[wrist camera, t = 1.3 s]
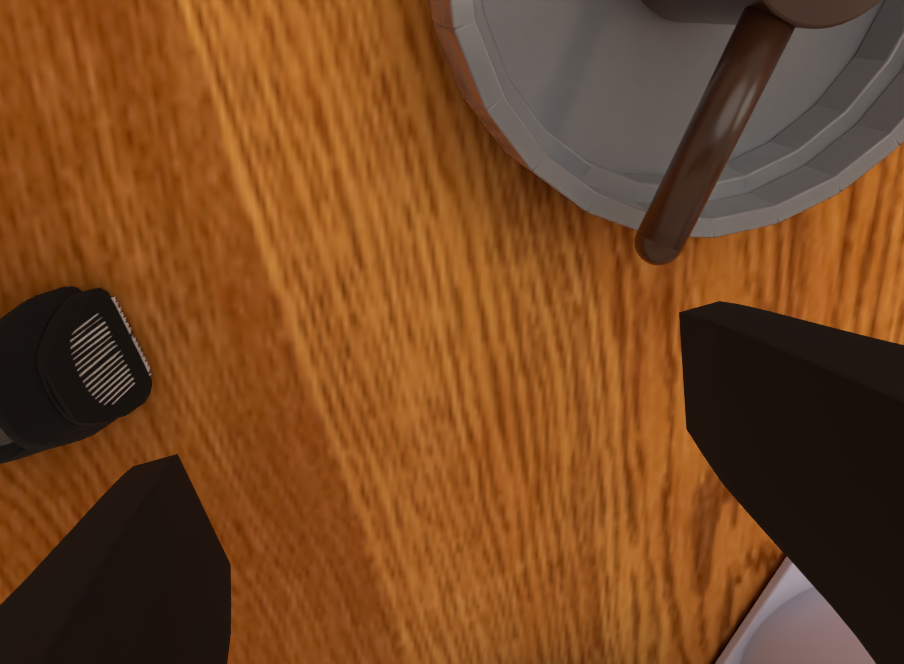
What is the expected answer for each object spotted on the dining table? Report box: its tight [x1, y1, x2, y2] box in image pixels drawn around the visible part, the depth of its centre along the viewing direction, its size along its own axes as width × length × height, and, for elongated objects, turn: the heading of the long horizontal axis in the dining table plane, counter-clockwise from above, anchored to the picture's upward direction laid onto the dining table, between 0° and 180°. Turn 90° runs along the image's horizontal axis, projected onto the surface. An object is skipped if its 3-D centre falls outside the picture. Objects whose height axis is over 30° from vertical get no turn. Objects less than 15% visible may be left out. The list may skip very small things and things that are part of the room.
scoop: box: [635, 0, 881, 265], centre depth 15 cm, size 4×9×5 cm, turn 159°
